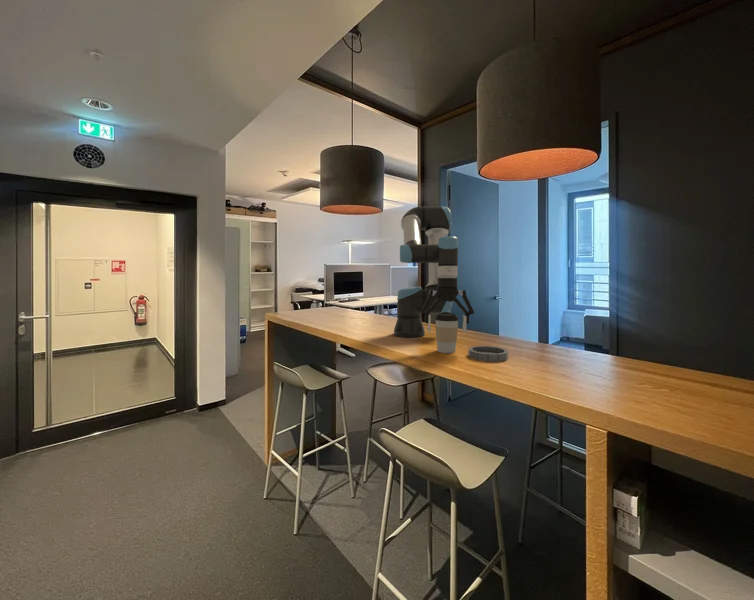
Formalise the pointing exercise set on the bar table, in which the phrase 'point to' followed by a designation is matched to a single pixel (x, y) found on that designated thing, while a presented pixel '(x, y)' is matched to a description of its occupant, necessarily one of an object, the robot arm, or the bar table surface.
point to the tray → (488, 353)
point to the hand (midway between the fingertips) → (446, 332)
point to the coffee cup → (446, 332)
